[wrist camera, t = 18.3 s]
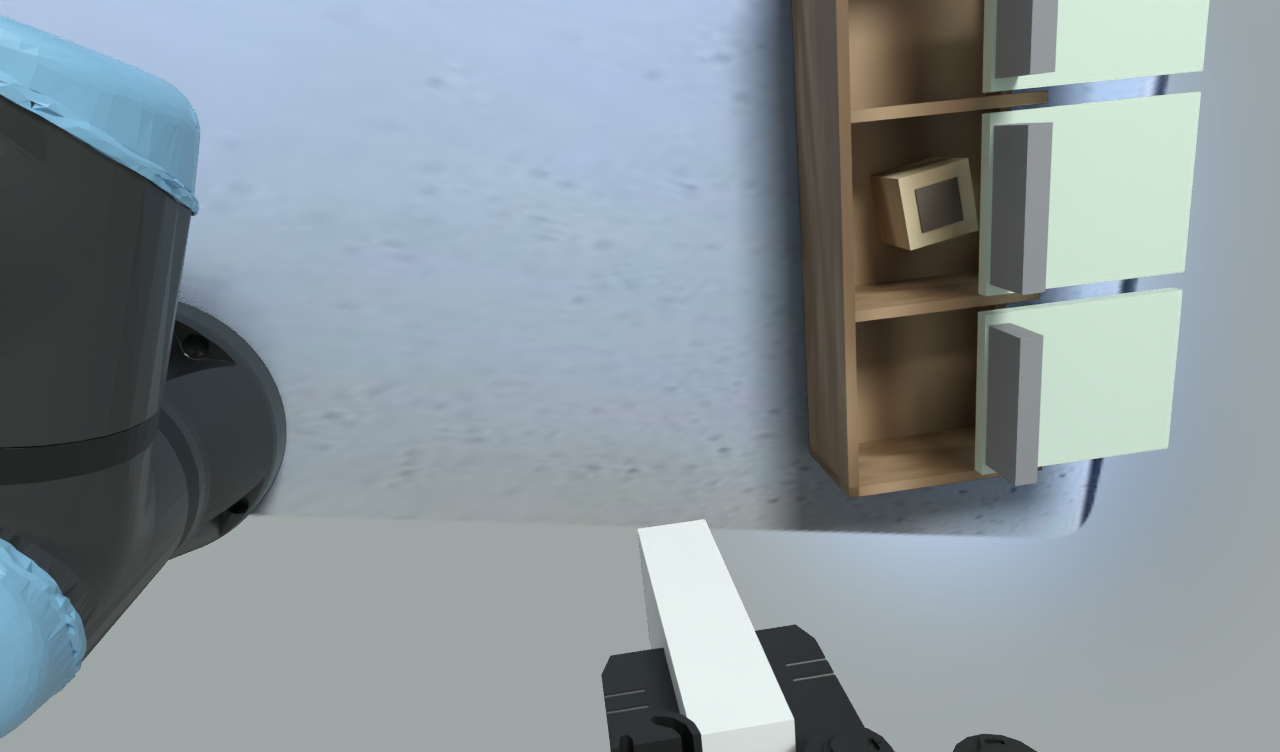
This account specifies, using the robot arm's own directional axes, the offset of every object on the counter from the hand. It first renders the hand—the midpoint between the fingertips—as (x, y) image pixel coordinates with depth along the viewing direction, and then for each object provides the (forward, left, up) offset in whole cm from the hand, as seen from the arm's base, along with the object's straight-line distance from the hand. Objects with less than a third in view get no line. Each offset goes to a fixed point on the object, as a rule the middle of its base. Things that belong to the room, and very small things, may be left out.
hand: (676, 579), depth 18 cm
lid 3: (+26, -6, -25) cm, 37 cm away
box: (+19, +4, -32) cm, 38 cm away
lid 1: (+26, +14, -25) cm, 39 cm away
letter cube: (+20, +4, -32) cm, 37 cm away
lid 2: (+26, +4, -25) cm, 36 cm away
